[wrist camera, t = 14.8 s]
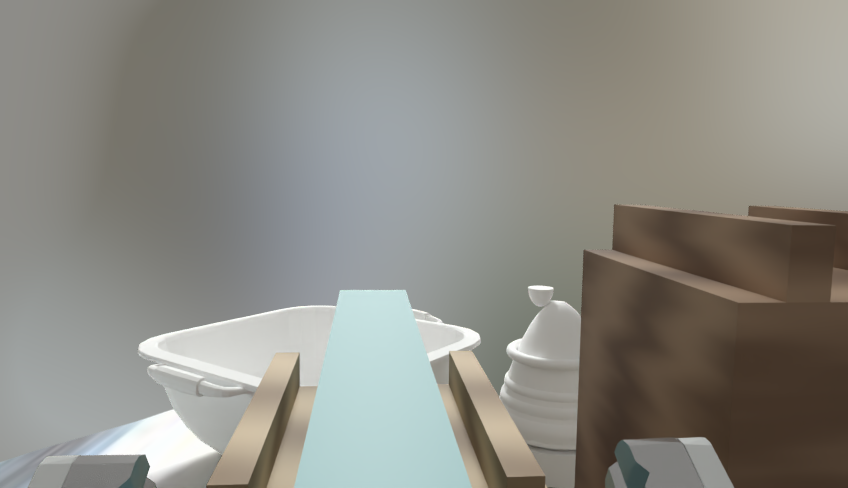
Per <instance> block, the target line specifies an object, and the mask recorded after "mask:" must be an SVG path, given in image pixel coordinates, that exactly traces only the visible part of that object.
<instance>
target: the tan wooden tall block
mask: <svg viewBox="0 0 848 488" xmlns="http://www.w3.org/2000/svg"><path fill="white" fill-rule="evenodd" d="M437 385H438V388H439V391H440V394H441V397H442V400H443V403H444V406H445V409H446V412H447V415H448V418H449V421H450V424H451V427H452V430H453V433H454V436H455V439H456V442H457V445H458V448H459V451H460V454H461V457H462V459H463V462H464V465H465V468H466V471H467V474H468V477H469V480H470V483H471V486H472V488H547V486H546V484H545V474H544V473H543V471H542V469H541V467H540V466H539V464H538V462H537V461H536V459H535V457H534V456H533V454H532V452H531V450H530V449H529V447H528V445H527V444H526V442H525V440H524V439H523V437H522V435H521V434H520V432H519V430H518V428H517V427H516V425H515V423H514V422H513V420H512V418H511V417H510V415H509V413H508V411H507V410H506V408H505V406H504V405H503V403H502V401H501V400H500V398H499V396H498V394H497V393H496V391H495V389H494V388H493V386H492V385H491V383H490V381H489V379H488V378H487V376H486V374H485V373H484V371H483V369H482V367H481V366H480V364H479V362H478V361H477V359H476V357H475V355H474V354H473V352H472V351H449V384H437ZM317 387H318V386H300V352H291V353H276V354H275V356H274V357H273V359H272V361H271V363H270V365H269V367H268V369H267V371H266V373H265V375H264V376H263V378H262V380H261V382H260V384H259V386H258V388H257V390H256V392H255V394H254V396H253V397H252V399H251V401H250V403H249V405H248V407H247V409H246V411H245V413H244V415H243V416H242V418H241V420H240V422H239V424H238V426H237V428H236V430H235V432H234V434H233V436H232V437H231V439H230V441H229V443H228V445H227V447H226V449H225V451H224V453H223V455H222V456H221V458H220V460H219V462H218V464H217V466H216V468H215V470H214V472H213V474H212V475H211V477H210V479H209V481H208V483H207V485H206V488H294V485H295V481H296V477H297V472H298V468H299V464H300V460H301V455H302V451H303V447H304V443H305V438H306V434H307V430H308V425H309V421H310V417H311V413H312V408H313V404H314V400H315V396H316V391H317Z"/></svg>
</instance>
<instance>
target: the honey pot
mask: <svg viewBox="0 0 848 488" xmlns="http://www.w3.org/2000/svg"><path fill="white" fill-rule="evenodd" d="M528 293H529V297H530V299H531V301H532V302H533V303H534V304H535V305H537V306H546V307H544V308H543V309H542V310H541V311H540V312H539V313H538V314H537V316H536V317H535V318H534V320H533V321H532V323H531V324H530V326H529V328H528V329H527V331H526V333H525V335H524V337H523V339H519V340H516V341H513V342H512V343H510V344H509V345H508V347H507V350H506V352H507V354H508V356H509V357H510V358H511V359H513V362H512V364H511V367H510V369H509V371H508V372H507V373H506V375H505V378H504V382H505V383H504V384H503V386H502V388H501V392H500V397H499V398H500V400H501V401H502V403H503V405H504V406H505V408H506V410H507V411H508V413H509V415H510V417H511V418H512V420H513V422H514V423H515V425H516V427H517V428H518V430H519V432H520V434H521V435H522V437H523V439H524V440H525V442H526V444H527V445H528V447H529V449H530V450H531V452H532V454H533V456H534V457H535V459H536V461H537V462H538V464H539V466H540V467H541V469H542V471H543V473H544V474H545V484H546V486H547V487H553V488H574V487H575V461H576V435H577V410H578V384H579V358H580V332H581V316H580V315H579V314H578V312H577V311H576V310H575V309H574V308H573V307H571V306H570V305H569V304H567V303H566V302H564V301H551V297H552V294H553V288H552V287H548V286H529V287H528Z"/></svg>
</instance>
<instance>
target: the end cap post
mask: <svg viewBox="0 0 848 488" xmlns="http://www.w3.org/2000/svg"><path fill="white" fill-rule="evenodd" d="M748 213H749V214H748V216H742V215H733V214H723V213H714V212H704V211H695V210H686V209H676V208H667V207H657V206H647V205H614V225H613V248H612V250H584V255H583V281H582V307H581V332H580V358H579V384H578V410H577V435H576V461H575V487H574V488H605V478H606V475H607V471H608V468H609V467H610V466H612V465H613V464H614V463H616V462H617V459H616V456H615V453H614V451H615V449H616V446H617V444H618V443H619V442H620V441H621V440H626V439H648V438H670V437H674V438H691V437H704V438H706V439H707V440H708V441H709V442H710V443H711V444H712V446H713V448H714V450H715V452H716V454H717V456H718V458H719V460H720V462H721V463H722V465H723V467H724V469H725V471H726V473H727V475H728V477H729V479H730V480H731V482H732V484H733V486H734V488H848V211H834V210H821V209H808V208H794V207H781V206H749V212H748Z"/></svg>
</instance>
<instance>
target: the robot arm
mask: <svg viewBox="0 0 848 488" xmlns="http://www.w3.org/2000/svg"><path fill="white" fill-rule="evenodd" d="M614 453H615V456H616V459H617V462H616V463H614V464H613V465H612V466H610V467H609V468H608V471H607V475H606V478H605V488H734V486H733V484H732V482H731V480H730V479H729V477H728V475H727V473H726V471H725V469H724V467H723V465H722V463H721V462H720V460H719V458H718V456H717V454H716V452H715V450H714V448H713V446H712V444H711V443H710V442H709V441H708V440H707V439H706V438H704V437H691V438H674V437H670V438H648V439H626V440H621V441H620V442H619V443H618V444H617V446H616V449H615V451H614ZM149 468H150V466H149V463H148V461H147V458H146V456H145V455H87V456H81V455H73V456H47V457H46V458H45V459H44V460H43V461H42V462H41V463H40V465H39V466H38V467H37V469H36V471H35V473H34V475H33V478H32V480H31V482H30V484H29V486H28V488H156V485H155V483H154V482H153V481H151V480H150V479H148V478H147V474H148V471H149Z"/></svg>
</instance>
